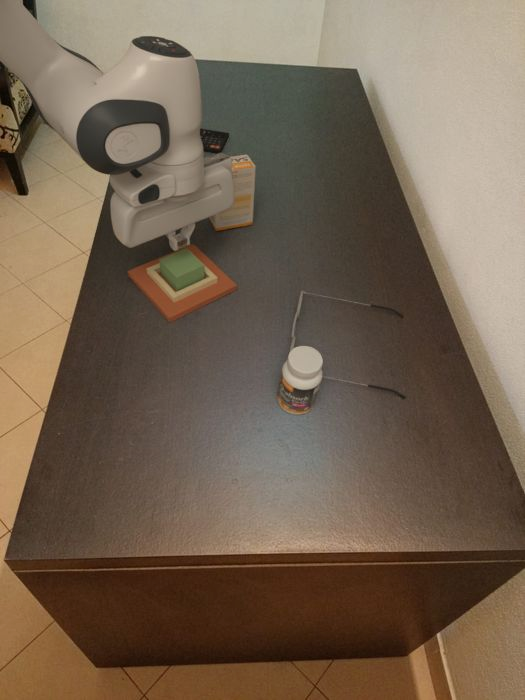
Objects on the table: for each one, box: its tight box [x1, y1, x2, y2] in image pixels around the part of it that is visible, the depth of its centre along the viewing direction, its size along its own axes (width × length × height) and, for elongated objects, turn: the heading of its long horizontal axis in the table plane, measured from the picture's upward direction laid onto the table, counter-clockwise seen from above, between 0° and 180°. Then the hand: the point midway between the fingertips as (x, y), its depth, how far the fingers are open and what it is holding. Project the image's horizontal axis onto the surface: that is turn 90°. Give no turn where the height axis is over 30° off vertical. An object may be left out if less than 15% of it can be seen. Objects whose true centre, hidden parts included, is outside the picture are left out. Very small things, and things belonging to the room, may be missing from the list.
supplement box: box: [208, 154, 257, 232], centre depth 92 cm, size 8×5×13 cm, turn 111°
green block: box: [159, 248, 205, 292], centre depth 82 cm, size 6×6×4 cm
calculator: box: [200, 127, 230, 154], centre depth 116 cm, size 9×12×3 cm
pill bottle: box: [276, 345, 324, 416], centre depth 66 cm, size 6×6×10 cm
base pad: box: [127, 243, 238, 323], centre depth 83 cm, size 14×14×2 cm
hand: (179, 246), depth 78 cm, fingers closed
